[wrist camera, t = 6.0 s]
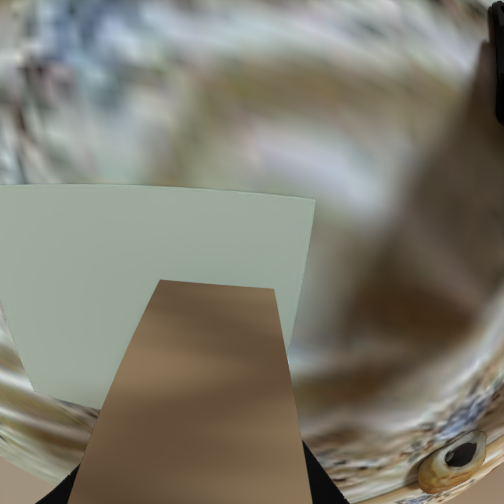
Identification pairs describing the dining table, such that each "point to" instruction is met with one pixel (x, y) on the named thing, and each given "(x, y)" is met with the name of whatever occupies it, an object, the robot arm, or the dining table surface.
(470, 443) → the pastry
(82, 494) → the wooden block
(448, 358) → the dining table surface
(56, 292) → the mat
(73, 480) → the robot arm
